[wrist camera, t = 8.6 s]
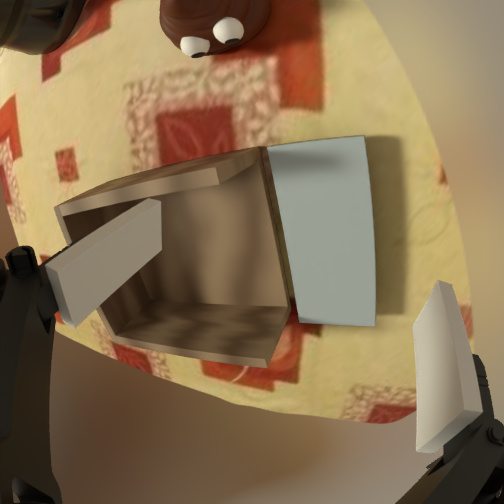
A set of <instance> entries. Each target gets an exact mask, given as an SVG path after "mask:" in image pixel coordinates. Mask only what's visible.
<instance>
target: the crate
mask: <svg viewBox="0 0 504 504" xmlns="http://www.w3.org/2000/svg"><path fill="white" fill-rule="evenodd" d="M148 198H150V199H154V200H158V201H161V234H162V250H161V251H160V252H159V253H158V254H156V255H155V256H154V257H153V258H152V259H151V260H150V261H148V262H147V263H146V264H145V265H144V266H143V267H142V268H140V269H139V270H138V271H137V272H136V273H135V274H134V275H132V276H131V277H130V278H129V279H128V280H127V281H126V282H125V283H124V284H122V285H121V286H120V287H119V288H118V289H117V290H116V291H115V292H114V293H112V294H111V295H110V296H109V297H108V298H107V299H106V300H105V301H104V302H103V303H102V304H101V305H99V306H98V307H97V308H96V310H97V312H98V314H99V316H100V318H101V320H102V321H103V323H104V325H105V327H106V329H107V331H108V333H109V335H110V336H111V338H112V340H113V342H117V343H121V344H125V345H129V346H134V347H138V348H143V349H148V350H153V351H157V352H163V353H168V354H173V355H178V356H184V357H190V358H196V359H202V360H208V361H215V362H222V363H229V364H237V365H245V366H253V367H262V368H267V367H268V365H269V363H270V360H271V358H272V356H273V353H274V351H275V349H276V346H277V344H278V342H279V339H280V337H281V334H282V332H283V330H284V327H285V325H286V322H287V320H288V317H289V315H290V312H291V304H290V299H289V293H288V288H287V282H286V277H285V271H284V266H283V261H282V255H281V250H280V245H279V240H278V235H277V230H276V224H275V219H274V214H273V209H272V204H271V199H270V195H269V190H268V185H267V180H266V175H265V170H264V166H263V161H262V156H261V152H260V147H253V148H247V149H242V150H236V151H231V152H226V153H221V154H216V155H211V156H206V157H202V158H197V159H193V160H188V161H184V162H180V163H175V164H171V165H167V166H163V167H159V168H155V169H151V170H147V171H144V172H140V173H136V174H133V175H129V176H126V177H122V178H119V179H115V180H112V181H108V182H106V183H104V184H101V185H99V186H97V187H95V188H93V189H90V190H88V191H86V192H84V193H82V194H80V195H78V196H76V197H73V198H71V199H69V200H67V201H65V202H63V203H61V204H59V205H57V206H55V207H54V210H55V213H56V216H57V219H58V222H59V224H60V227H61V230H62V232H63V235H64V238H65V240H66V243H67V245H68V246H69V244H71V243H72V242H74V241H75V240H77V239H79V238H82V237H85V236H87V235H89V234H91V233H92V232H94V231H95V230H97V229H98V228H100V227H102V226H103V225H105V224H106V223H108V222H110V221H111V220H113V219H114V218H116V217H118V216H119V215H121V214H122V213H124V212H126V211H127V210H129V209H131V208H132V207H134V206H136V205H138V204H139V203H141V202H143V201H144V200H146V199H148Z"/></svg>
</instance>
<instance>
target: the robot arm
mask: <svg viewBox="0 0 504 504" xmlns="http://www.w3.org/2000/svg"><path fill="white" fill-rule="evenodd" d="M83 3H84V0H0V48H1V47H3V48H8V49H11V50H15V51H19V52H23V53H26V54H29V55H40V54H48V53H50V52H52V51H54V50H55V49H56V48H58V47H59V46H60V45H61V44H62V43H63V41H64V40H65V39H66V38H67V36H68V35H69V33H70V32H71V30H72V29H73V27H74V25H75V23H76V21H77V19H78V17H79V14H80V12H81V9H82V6H83ZM161 250H162V234H161V201H158V200H154V199H150V198H148V199H146V200H144V201H143V202H141V203H139V204H138V205H136V206H134V207H132V208H131V209H129V210H127V211H126V212H124V213H122V214H121V215H119V216H118V217H116V218H114V219H113V220H111V221H110V222H108V223H106V224H105V225H103V226H102V227H100V228H98V229H97V230H95V231H94V232H92V233H91V234H89V235H87V236H85V237H82V238H79V239H77V240H75V241H74V242H72V243H71V244H69V246H66V247H65V248H63V249H62V251H59V252H58V253H56V254H55V255H53V256H52V257H50V258H49V259H48V260H46V261H45V262H43V263H42V264H41V265H39V266H38V263H37V260H36V256H35V252H34V249H33V248H32V247H30V246H20V247H17V248H14V249H12V250H11V251H10V252H8V253H7V255H6V256H5V258H6V261H7V264H8V267H9V270H7V269H6V267H5V264H4V261H3V260H2V259H0V504H62V498H61V492H60V488H59V485H58V483H57V481H56V479H55V477H54V475H53V473H52V467H51V454H50V437H49V436H50V433H49V394H50V373H51V360H52V349H53V339H54V331H55V323H56V319H55V315H54V314H55V313H56V312H57V311H58V310H59V312H60V315H61V317H62V320H63V321H64V322H65V323H67V324H68V325H70V326H71V327H73V328H76V327H77V326H78V325H79V324H80V323H81V322H82V321H84V320H85V319H86V318H87V317H88V316H89V315H90V314H91V313H92V312H93V311H94V310H95V309H96V308H97V307H98V306H99V305H101V304H102V303H103V302H104V301H105V300H106V299H107V298H108V297H109V296H110V295H111V294H112V293H114V292H115V291H116V290H117V289H118V288H119V287H120V286H121V285H122V284H124V283H125V282H126V281H127V280H128V279H129V278H130V277H131V276H132V275H134V274H135V273H136V272H137V271H138V270H139V269H140V268H142V267H143V266H144V265H145V264H146V263H147V262H148V261H150V260H151V259H152V258H153V257H154V256H155V255H156V254H158V253H159V252H160V251H161ZM413 337H414V348H415V363H416V385H417V436H416V452H425V453H435V452H436V451H437V450H439V449H440V448H441V447H443V446H444V453H443V455H442V456H441V457H440V458H438V459H437V460H435V461H434V462H432V463H431V464H430V465H428V466H427V467H426V468H427V469H428V468H430V467H431V468H430V469H429V470H428V471H427V472H426V473H425V474H424V475H423V476H422V477H421V479H419V481H418V482H417V483H416V484H415V485H414V486H413V487H412V488H411V489H410V490H409V491H408V492H407V493H406V494H405V495H404V496H403V497H402V498H401V499H400V500H398V501H397V502H396V503H395V504H504V426H503V424H502V423H501V422H500V421H498V420H497V419H494V413H493V407H492V401H491V395H490V390H489V388H488V380H487V379H486V377H487V376H486V371H485V367H484V365H483V363H482V361H481V359H480V358H479V356H478V355H475V354H472V352H471V348H470V344H469V340H468V336H467V333H466V329H465V325H464V322H463V318H462V315H461V312H460V308H459V305H458V302H457V299H456V296H455V293H454V290H453V287H452V284H449V283H446V282H443V281H440V280H437V282H436V284H435V286H434V288H433V290H432V292H431V294H430V296H429V297H428V299H427V301H426V303H425V305H424V307H423V309H422V310H421V312H420V314H419V316H418V317H417V319H416V321H415V323H414V324H413ZM501 490H502V491H501ZM13 492H14V493H15V494H16V495H17V496H18V498H19V500H20V503H14V502H13ZM500 492H501V493H500ZM499 495H500V496H499Z"/></svg>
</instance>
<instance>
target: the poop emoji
mask: <svg viewBox="0 0 504 504" xmlns="http://www.w3.org/2000/svg"><path fill="white" fill-rule="evenodd" d="M269 14H270V0H161V1H160V25H161V28H162V30H163V32H164V33H165V34H166V36H167V37H168V38H169V39H170V40H171V41H172V42H173V44H174V45H175V46H176V47H178V48H179V49H180V50H182V51H183V53H184V54H186V55H187V56H189V57H192V58H199V57H202V56H209V55H214V54H218V53H221V52H223V51H225V50H227V49H228V48H233V47H237V46H239V45H241V44H243V43H245V42H247V41H249V40H250V39H252V38H253V37H254V36H255V35H257V34H258V33H259V32H260V31H261V29H262V28H263V27H264V25H265V24H266V22H267V20H268V17H269Z"/></svg>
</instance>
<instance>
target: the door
mask: <svg viewBox="0 0 504 504" xmlns="http://www.w3.org/2000/svg"><path fill="white" fill-rule="evenodd" d="M267 150H268V155H269V160H270V164H271V169H272V174H273V179H274V184H275V189H276V194H277V199H278V204H279V210H280V215H281V220H282V225H283V231H284V236H285V241H286V247H287V252H288V258H289V264H290V269H291V275H292V281H293V287H294V292H295V298H296V304H297V310H298V317H299V323H314V324H332V325H353V326H375V322H376V252H375V231H374V216H373V203H372V192H371V182H370V173H369V164H368V157H367V149H366V142H365V135H356V136H345V137H334V138H325V139H316V140H307V141H299V142H292V143H285V144H278V145H272V146H269V147H267Z"/></svg>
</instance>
